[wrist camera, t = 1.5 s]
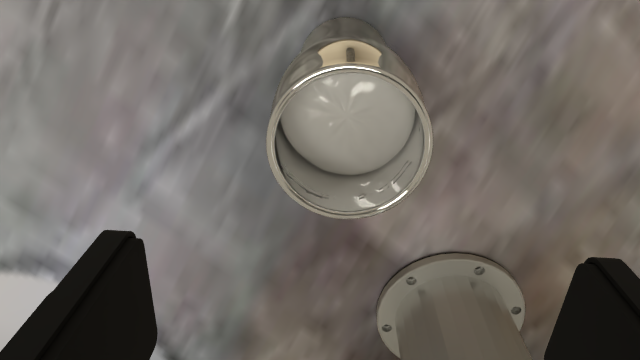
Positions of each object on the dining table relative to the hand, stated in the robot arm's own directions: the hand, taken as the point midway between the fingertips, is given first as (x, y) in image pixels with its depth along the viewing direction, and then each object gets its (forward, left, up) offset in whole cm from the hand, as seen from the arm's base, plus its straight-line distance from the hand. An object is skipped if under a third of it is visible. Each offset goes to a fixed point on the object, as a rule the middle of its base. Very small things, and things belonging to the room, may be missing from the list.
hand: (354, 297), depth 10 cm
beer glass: (0, 0, -24) cm, 24 cm away
